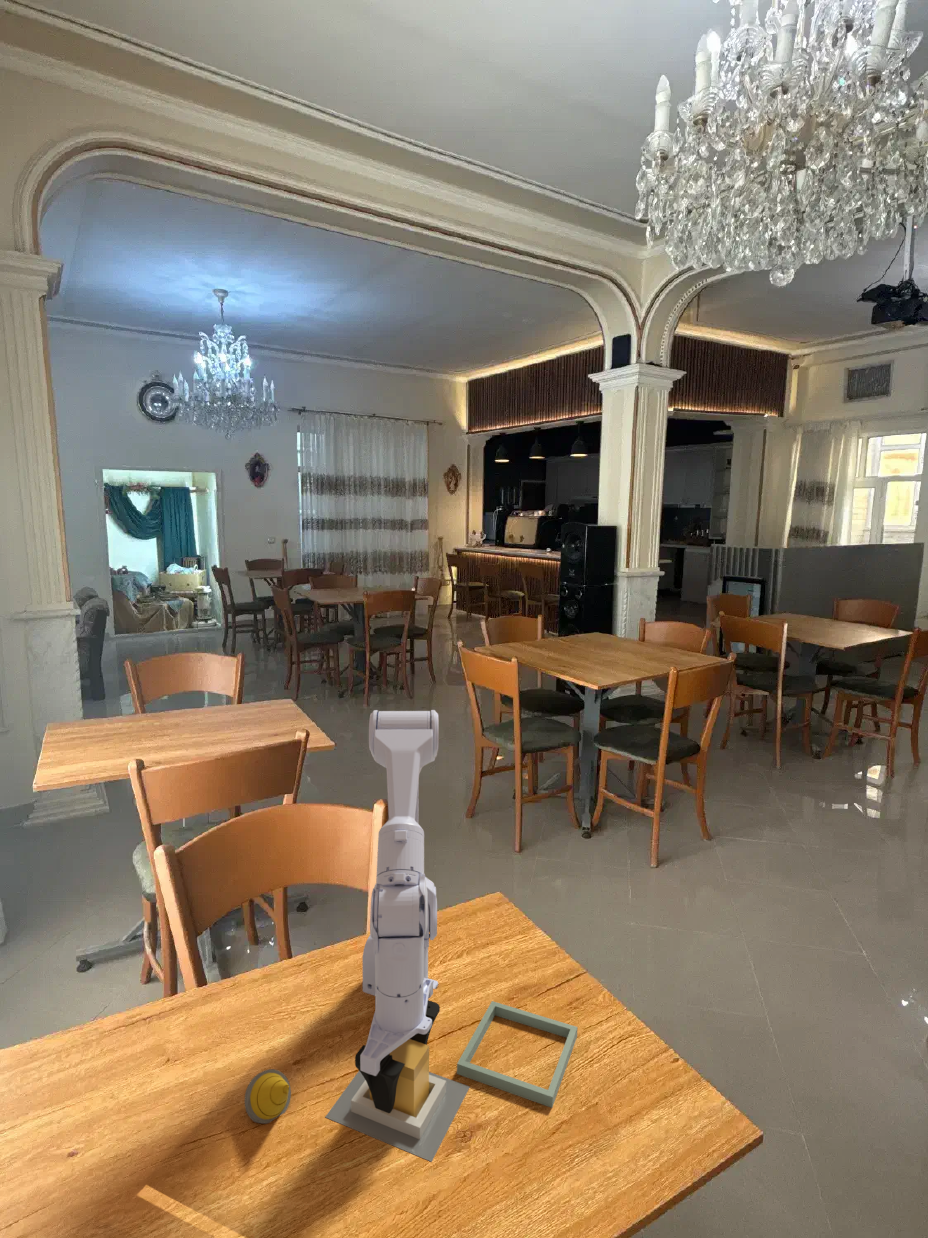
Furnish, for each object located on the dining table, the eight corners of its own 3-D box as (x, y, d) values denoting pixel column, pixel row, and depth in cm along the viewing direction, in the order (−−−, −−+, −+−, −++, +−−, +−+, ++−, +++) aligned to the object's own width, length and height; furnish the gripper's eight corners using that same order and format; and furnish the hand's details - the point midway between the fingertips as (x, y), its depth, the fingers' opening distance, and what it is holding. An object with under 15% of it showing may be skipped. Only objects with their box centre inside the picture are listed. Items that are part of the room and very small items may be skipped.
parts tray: (456, 1079, 87) (457, 1064, 86) (491, 1015, 98) (491, 1001, 98) (552, 1113, 82) (552, 1097, 81) (577, 1041, 93) (577, 1027, 93)
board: (325, 1123, 80) (324, 1106, 80) (372, 1057, 90) (372, 1041, 90) (431, 1168, 75) (431, 1149, 74) (469, 1092, 85) (470, 1076, 84)
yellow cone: (287, 1089, 85) (318, 1073, 79) (264, 1137, 81) (296, 1125, 75) (252, 1066, 85) (281, 1049, 79) (227, 1113, 81) (256, 1099, 75)
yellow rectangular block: (369, 1105, 82) (369, 1053, 81) (386, 1081, 85) (386, 1031, 84) (413, 1123, 79) (414, 1070, 78) (428, 1097, 83) (429, 1045, 82)
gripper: (400, 1033, 72) (400, 1145, 74) (455, 954, 85) (453, 1052, 87) (343, 1013, 75) (345, 1122, 76) (405, 940, 88) (405, 1035, 90)
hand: (399, 1084), depth 82 cm, fingers open, 7 cm apart
